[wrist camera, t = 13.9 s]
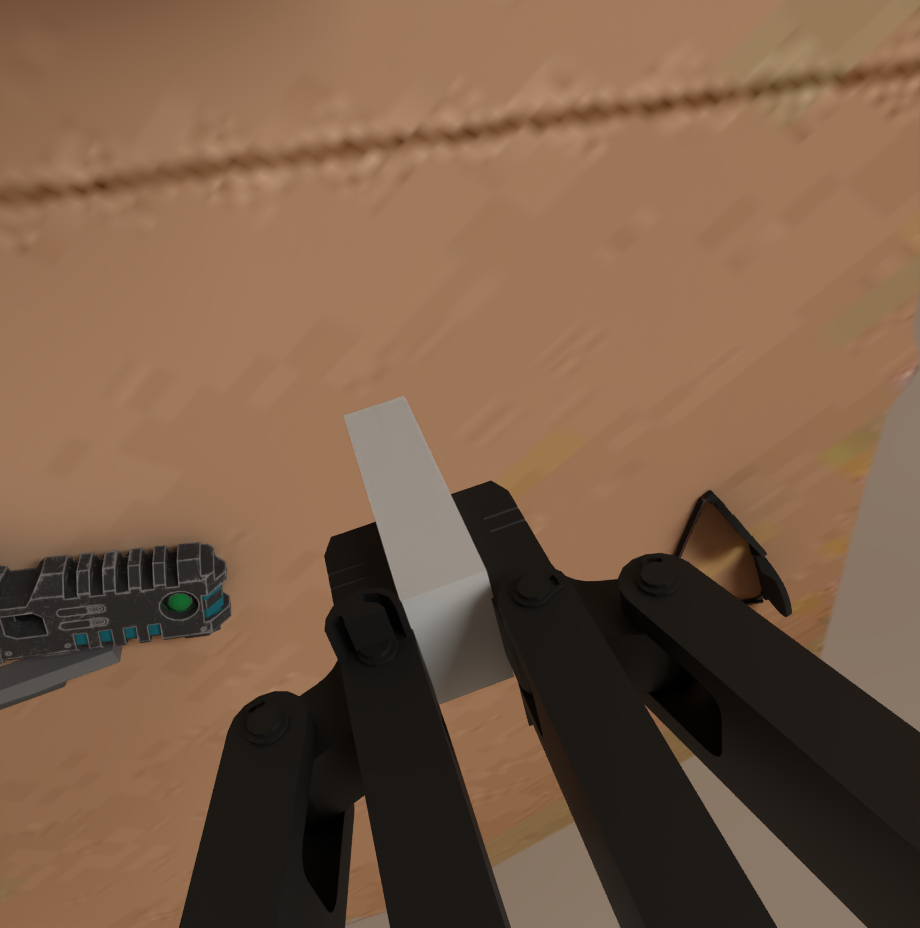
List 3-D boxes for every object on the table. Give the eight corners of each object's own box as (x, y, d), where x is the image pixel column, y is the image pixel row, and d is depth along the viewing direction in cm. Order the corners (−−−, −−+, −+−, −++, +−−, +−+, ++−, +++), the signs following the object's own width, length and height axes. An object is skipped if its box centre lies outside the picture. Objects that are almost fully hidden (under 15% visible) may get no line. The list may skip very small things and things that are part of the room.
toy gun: (-126, 563, 43) (-77, 686, 48) (221, 529, 49) (233, 644, 54) (-101, 521, 47) (-58, 640, 52) (220, 494, 52) (231, 604, 57)
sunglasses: (580, 574, 66) (605, 613, 62) (719, 477, 64) (753, 510, 60) (655, 666, 75) (680, 705, 71) (777, 584, 74) (810, 618, 70)
